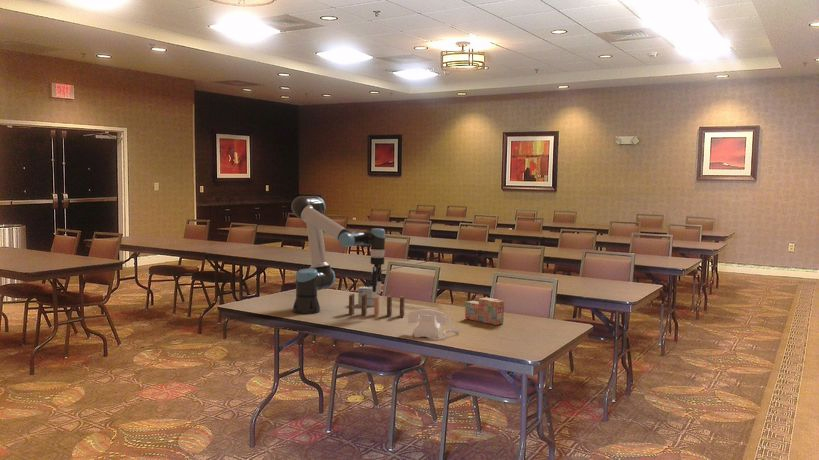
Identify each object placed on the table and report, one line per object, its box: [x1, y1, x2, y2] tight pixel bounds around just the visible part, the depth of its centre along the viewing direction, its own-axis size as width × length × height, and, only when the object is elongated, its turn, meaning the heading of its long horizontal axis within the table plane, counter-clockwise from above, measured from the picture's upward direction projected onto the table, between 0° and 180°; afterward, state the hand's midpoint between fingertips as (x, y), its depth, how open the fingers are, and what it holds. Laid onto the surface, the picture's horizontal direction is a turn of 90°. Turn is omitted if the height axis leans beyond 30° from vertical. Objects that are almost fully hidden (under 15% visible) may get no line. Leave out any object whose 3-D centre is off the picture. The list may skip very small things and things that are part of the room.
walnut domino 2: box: [360, 294, 368, 317], centre depth 352 cm, size 2×6×11 cm, turn 174°
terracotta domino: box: [373, 294, 380, 317], centre depth 351 cm, size 2×6×11 cm, turn 174°
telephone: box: [407, 308, 461, 341], centre depth 308 cm, size 25×21×12 cm
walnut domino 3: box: [386, 294, 393, 318], centre depth 350 cm, size 2×6×11 cm, turn 174°
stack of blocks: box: [464, 297, 505, 326], centre depth 342 cm, size 21×6×12 cm, turn 46°
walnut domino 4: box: [399, 295, 406, 318], centre depth 349 cm, size 2×6×11 cm, turn 174°
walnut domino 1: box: [348, 293, 355, 316], centre depth 353 cm, size 2×6×11 cm, turn 174°
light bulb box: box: [357, 286, 374, 307], centre depth 380 cm, size 11×7×11 cm, turn 84°
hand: (376, 295), depth 351 cm, fingers open, 13 cm apart
